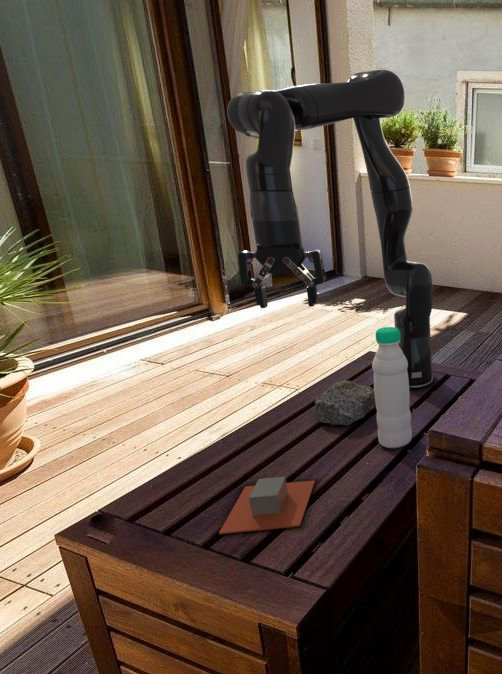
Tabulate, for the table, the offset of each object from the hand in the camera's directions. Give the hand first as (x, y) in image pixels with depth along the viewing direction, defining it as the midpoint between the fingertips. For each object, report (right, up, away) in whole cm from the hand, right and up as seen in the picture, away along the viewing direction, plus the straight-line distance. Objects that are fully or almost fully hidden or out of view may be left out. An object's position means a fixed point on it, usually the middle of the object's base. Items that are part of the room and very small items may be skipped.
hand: (288, 306), depth 88 cm
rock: (+3, -24, +24) cm, 34 cm away
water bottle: (+18, -28, +12) cm, 35 cm away
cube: (+1, -34, -8) cm, 35 cm away
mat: (+1, -35, -8) cm, 36 cm away
